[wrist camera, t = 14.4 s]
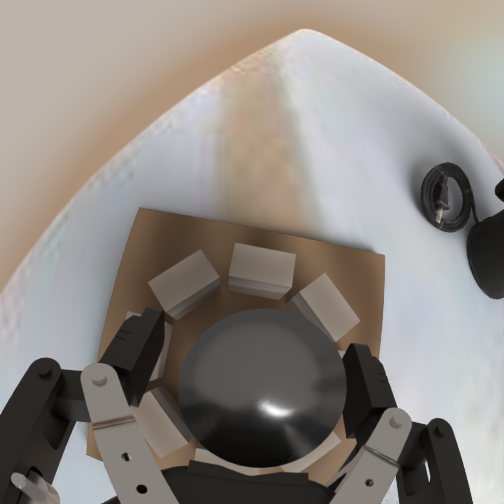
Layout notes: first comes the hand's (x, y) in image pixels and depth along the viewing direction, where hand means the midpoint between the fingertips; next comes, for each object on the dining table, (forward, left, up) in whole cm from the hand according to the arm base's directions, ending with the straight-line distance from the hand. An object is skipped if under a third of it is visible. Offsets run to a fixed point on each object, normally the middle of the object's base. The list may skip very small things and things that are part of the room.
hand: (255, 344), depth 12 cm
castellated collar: (0, -1, -9) cm, 9 cm away
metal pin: (0, -1, -7) cm, 8 cm away
